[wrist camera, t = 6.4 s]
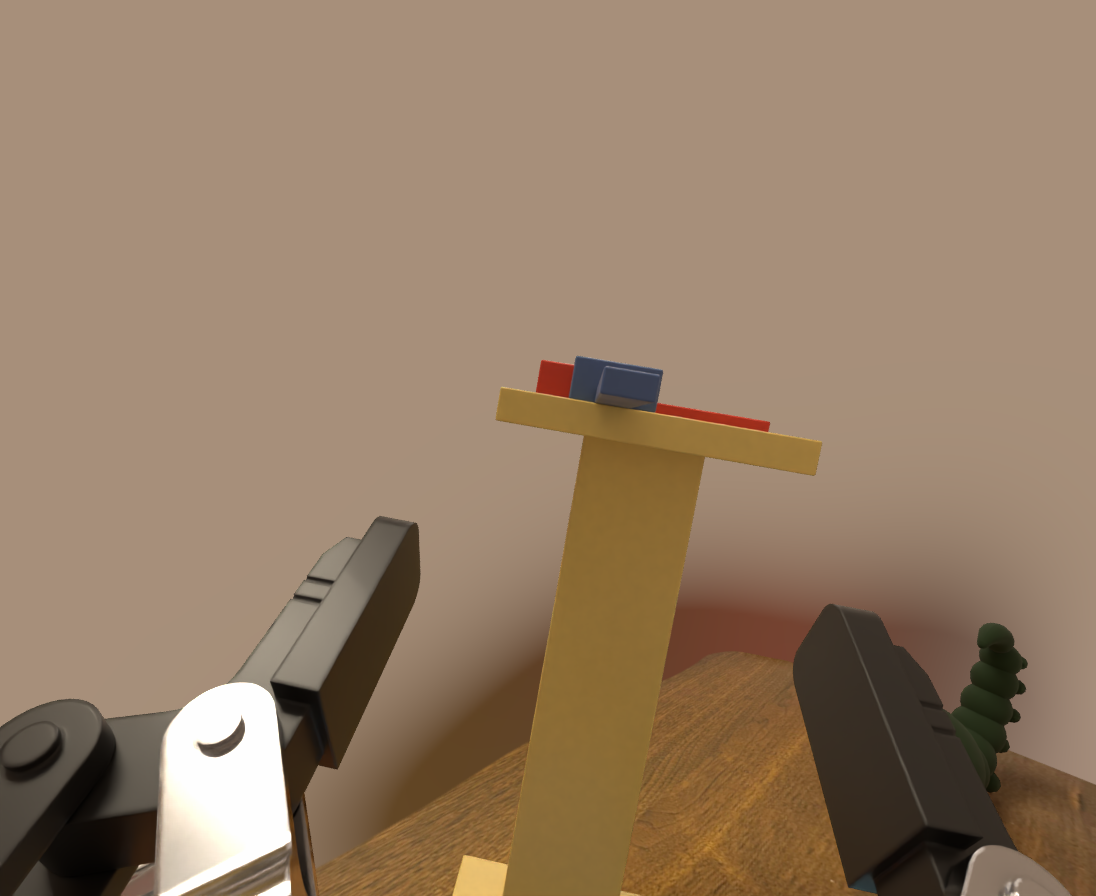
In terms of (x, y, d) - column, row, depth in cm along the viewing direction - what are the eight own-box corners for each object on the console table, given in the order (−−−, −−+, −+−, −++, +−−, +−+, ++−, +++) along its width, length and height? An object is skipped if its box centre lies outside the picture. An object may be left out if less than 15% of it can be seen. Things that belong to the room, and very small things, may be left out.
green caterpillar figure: (921, 763, 60) (803, 799, 47) (963, 606, 60) (856, 598, 46) (1026, 824, 52) (920, 889, 39) (1075, 644, 52) (985, 647, 39)
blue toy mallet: (557, 386, 15) (569, 315, 14) (570, 401, 28) (577, 364, 27) (699, 410, 14) (712, 338, 14) (645, 414, 27) (652, 376, 27)
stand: (392, 1043, 25) (500, 386, 23) (447, 865, 35) (526, 396, 33) (681, 1117, 24) (823, 441, 22) (653, 913, 34) (749, 434, 32)
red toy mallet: (775, 437, 27) (783, 399, 27) (534, 395, 28) (541, 359, 28) (751, 434, 31) (758, 402, 31) (541, 398, 32) (546, 366, 32)
